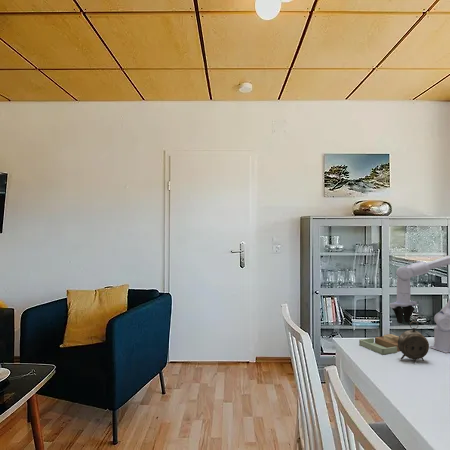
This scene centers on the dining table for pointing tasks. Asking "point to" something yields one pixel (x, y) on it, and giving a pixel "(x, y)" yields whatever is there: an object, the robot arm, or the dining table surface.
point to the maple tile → (391, 337)
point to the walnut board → (386, 343)
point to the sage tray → (376, 347)
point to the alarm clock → (413, 344)
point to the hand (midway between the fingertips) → (403, 322)
